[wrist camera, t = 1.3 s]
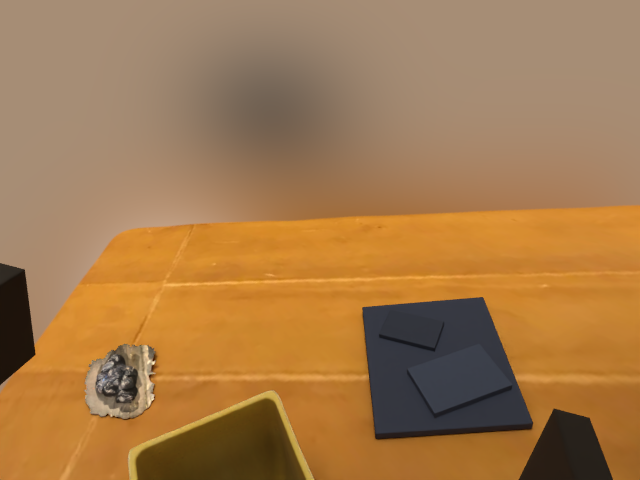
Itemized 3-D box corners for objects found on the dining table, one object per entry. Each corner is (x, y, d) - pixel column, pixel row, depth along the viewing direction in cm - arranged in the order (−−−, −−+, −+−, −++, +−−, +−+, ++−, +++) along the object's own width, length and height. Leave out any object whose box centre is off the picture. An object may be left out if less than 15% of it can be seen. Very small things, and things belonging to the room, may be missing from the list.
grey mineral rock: (146, 337, 47) (140, 323, 46) (182, 390, 41) (175, 375, 40) (74, 377, 44) (65, 362, 43) (101, 439, 38) (92, 424, 37)
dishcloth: (482, 302, 45) (483, 292, 45) (532, 429, 35) (534, 418, 34) (362, 312, 46) (361, 302, 45) (375, 439, 36) (375, 429, 35)
